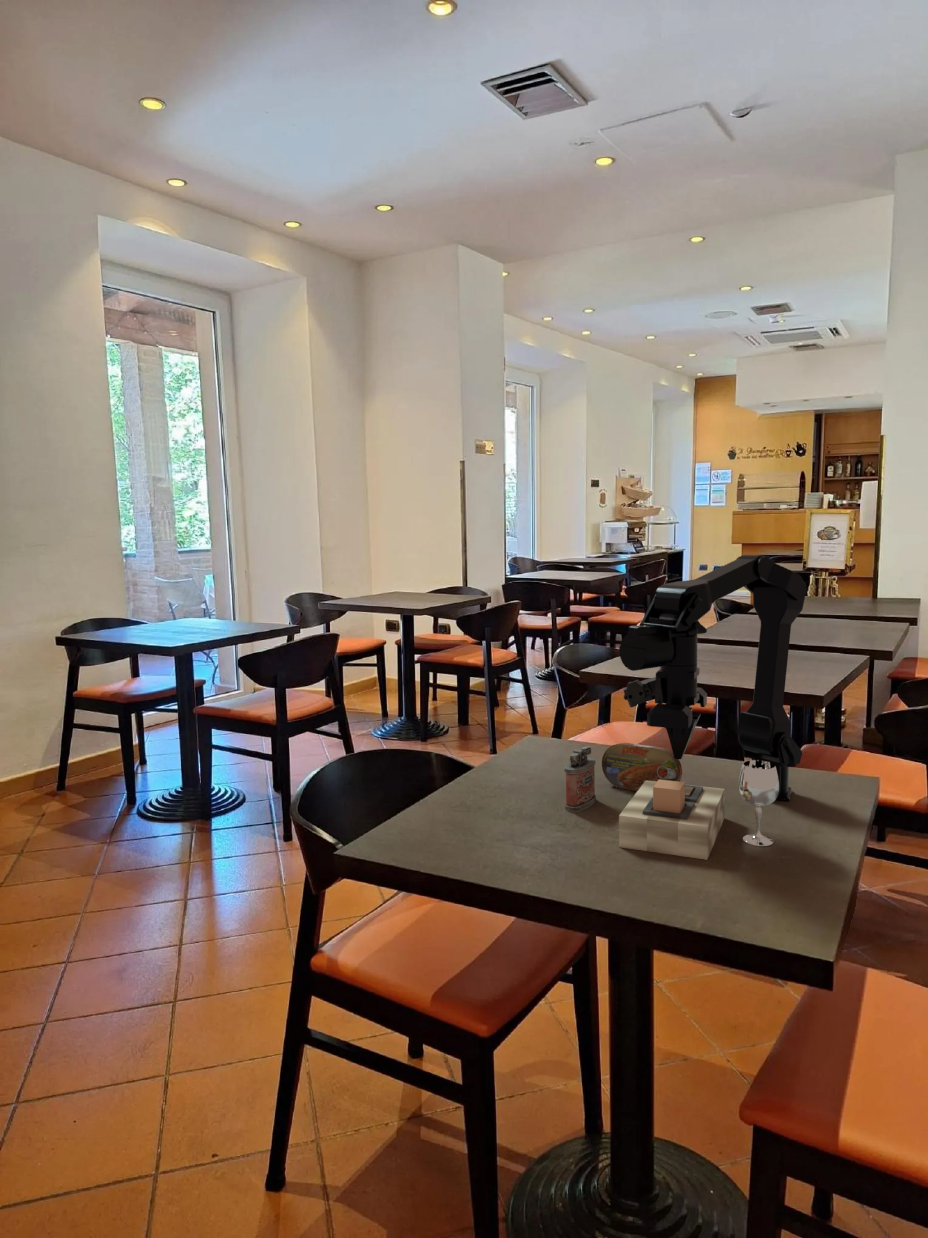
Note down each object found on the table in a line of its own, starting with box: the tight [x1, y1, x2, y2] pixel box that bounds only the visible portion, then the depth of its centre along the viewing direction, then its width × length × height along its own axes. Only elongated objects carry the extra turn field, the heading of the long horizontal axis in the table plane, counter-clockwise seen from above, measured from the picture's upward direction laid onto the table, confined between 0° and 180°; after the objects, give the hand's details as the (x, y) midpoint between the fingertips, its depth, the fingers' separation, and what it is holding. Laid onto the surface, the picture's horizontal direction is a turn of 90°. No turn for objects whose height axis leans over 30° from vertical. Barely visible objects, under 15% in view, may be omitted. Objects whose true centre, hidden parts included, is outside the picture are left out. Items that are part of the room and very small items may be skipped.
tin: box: [601, 742, 683, 792], centre depth 150 cm, size 15×3×8 cm, turn 54°
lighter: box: [564, 745, 597, 813], centre depth 142 cm, size 8×3×10 cm, turn 143°
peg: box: [653, 780, 686, 814], centre depth 125 cm, size 4×4×5 cm
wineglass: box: [738, 759, 779, 847], centre depth 124 cm, size 6×6×12 cm
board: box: [618, 780, 726, 861], centre depth 129 cm, size 18×13×6 cm
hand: (678, 758), depth 131 cm, fingers closed
